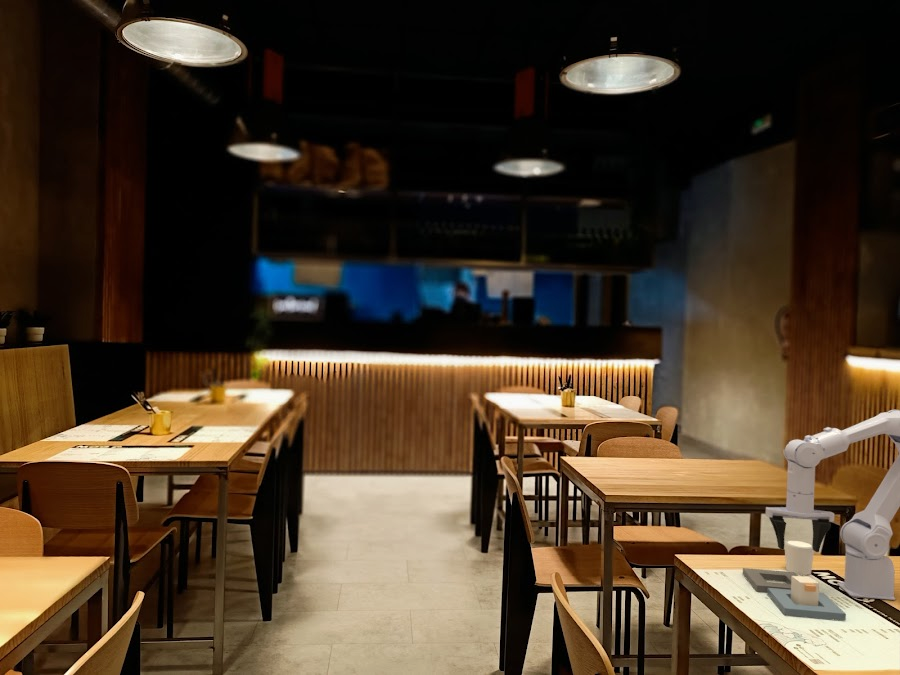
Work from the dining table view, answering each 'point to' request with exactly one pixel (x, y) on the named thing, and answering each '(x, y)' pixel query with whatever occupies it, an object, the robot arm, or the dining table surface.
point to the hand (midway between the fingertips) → (798, 549)
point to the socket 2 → (806, 606)
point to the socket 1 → (760, 576)
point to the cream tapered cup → (798, 557)
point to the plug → (804, 590)
